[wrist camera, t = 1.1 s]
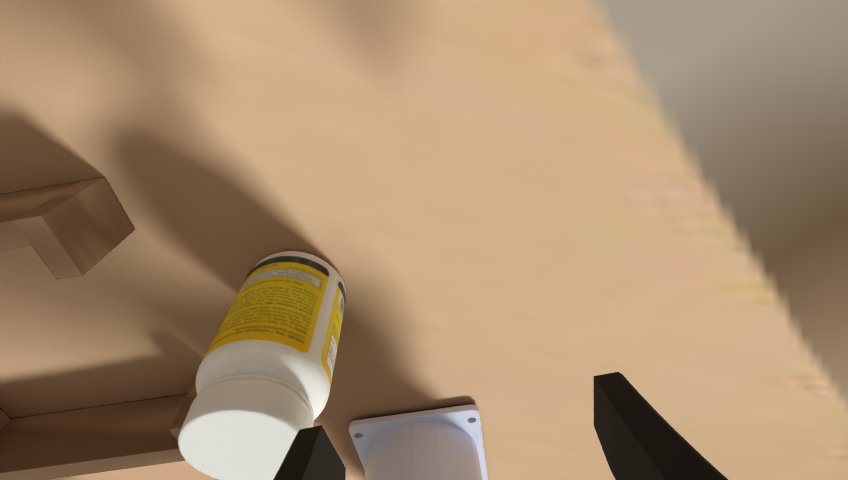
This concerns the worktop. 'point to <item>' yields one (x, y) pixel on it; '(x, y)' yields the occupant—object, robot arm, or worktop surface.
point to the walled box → (98, 426)
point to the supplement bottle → (266, 369)
